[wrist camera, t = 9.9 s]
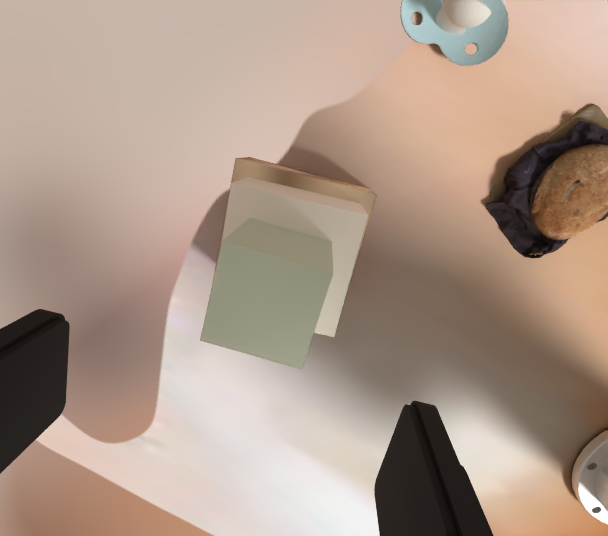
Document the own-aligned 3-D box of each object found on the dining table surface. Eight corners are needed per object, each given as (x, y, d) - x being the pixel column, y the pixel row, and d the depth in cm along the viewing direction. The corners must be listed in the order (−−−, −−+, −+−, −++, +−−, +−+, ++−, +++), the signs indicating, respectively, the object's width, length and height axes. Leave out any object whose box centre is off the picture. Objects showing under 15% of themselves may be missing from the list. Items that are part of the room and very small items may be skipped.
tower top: (360, 203, 26) (368, 215, 22) (332, 306, 29) (333, 337, 24) (248, 177, 26) (231, 182, 21) (230, 282, 29) (210, 308, 24)
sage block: (331, 241, 22) (333, 273, 16) (308, 316, 24) (301, 369, 18) (249, 217, 22) (222, 241, 16) (231, 294, 24) (200, 340, 18)
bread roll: (586, 96, 28) (623, 88, 25) (646, 180, 30) (689, 183, 26) (468, 195, 31) (486, 201, 27) (529, 268, 32) (554, 282, 29)
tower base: (369, 188, 31) (376, 194, 26) (336, 298, 34) (337, 322, 29) (250, 157, 31) (235, 158, 26) (227, 270, 34) (211, 290, 29)
